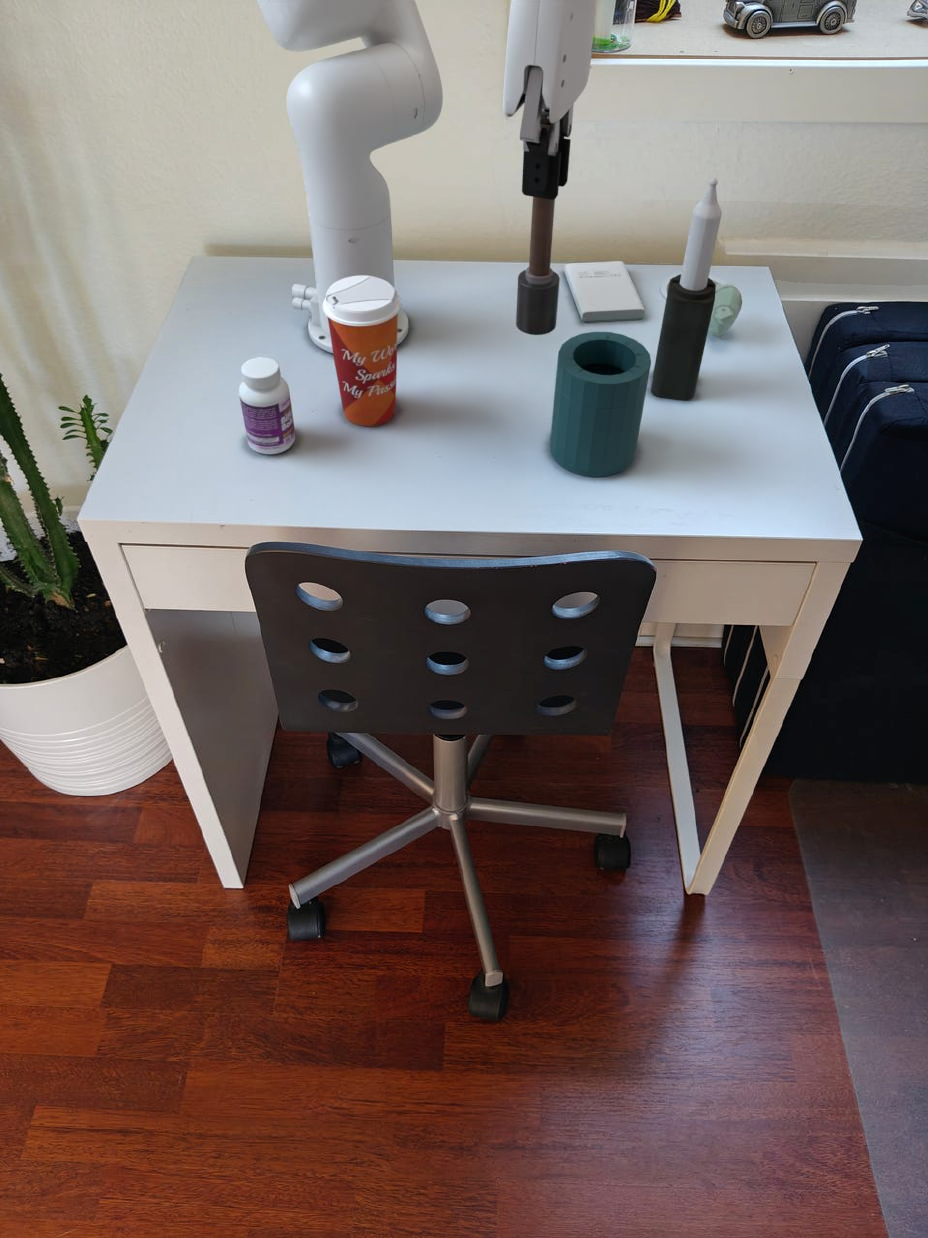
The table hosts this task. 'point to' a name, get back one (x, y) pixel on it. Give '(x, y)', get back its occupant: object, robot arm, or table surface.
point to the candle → (688, 307)
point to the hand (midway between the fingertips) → (544, 187)
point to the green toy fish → (725, 309)
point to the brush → (539, 273)
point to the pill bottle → (266, 406)
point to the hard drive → (604, 291)
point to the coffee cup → (364, 346)
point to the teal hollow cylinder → (598, 403)
